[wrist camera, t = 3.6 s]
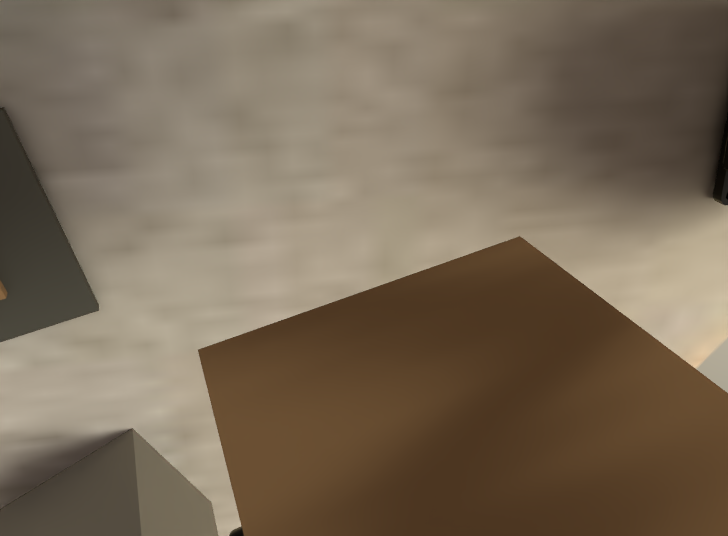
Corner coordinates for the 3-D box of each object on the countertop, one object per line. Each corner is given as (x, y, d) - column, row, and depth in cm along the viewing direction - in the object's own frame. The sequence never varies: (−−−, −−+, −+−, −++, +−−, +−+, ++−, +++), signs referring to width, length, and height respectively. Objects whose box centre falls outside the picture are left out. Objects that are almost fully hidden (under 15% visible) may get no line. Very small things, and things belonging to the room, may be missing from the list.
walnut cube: (520, 236, 9) (843, 481, 5) (523, 453, 12) (739, 723, 8) (197, 350, 8) (301, 766, 4) (280, 561, 11) (392, 938, 7)
